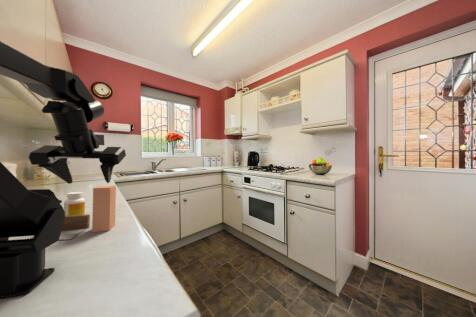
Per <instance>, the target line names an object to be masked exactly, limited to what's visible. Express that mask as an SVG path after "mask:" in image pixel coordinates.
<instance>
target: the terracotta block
mask: <svg viewBox="0 0 476 317" xmlns="http://www.w3.org/2000/svg"><path fill="white" fill-rule="evenodd" d="M116 191H117V185H104V186H103V185H99V186H96V187H93V188H92V219H91V220H92V222H91V223H92V224H91V225H92V226H91V232H92V233H99V232H101V233H102V232H110V231H112V229H113V228H115V226H116V202H117V201H116V200H117V198H116V194H117V192H116Z"/></svg>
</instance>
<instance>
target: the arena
mask: <svg viewBox="0 0 476 317" xmlns="http://www.w3.org/2000/svg"><path fill="white" fill-rule="evenodd" d="M90 218H91V216H90V214H85V215H73V216H65V219H64V222H63V226H62V230H61V234H60V238H59V240H58V241H59V242H60V241H70V240H73V239H75V237H77V236H78V235H80V234H82V233H83V232H84V231H86V230H87V229H89V228H90V227H91V226H90ZM58 241H57V242H58Z"/></svg>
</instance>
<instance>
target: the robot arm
mask: <svg viewBox="0 0 476 317" xmlns="http://www.w3.org/2000/svg"><path fill="white" fill-rule="evenodd" d="M0 76H4V77H6V78H9V79H12V80H14V81H17V82H20V83H22V84H24V85H25V86H26V87H27V88H28V90H29V91H30V92H32V93H35V94H36V95H38V96H39V97H42V98H43V99H50V100H48V101H47V103H46V104H45V105H44V106H43V107H42V109H41V112H42V114H50V115H51V118H52V121H53V124H54V126H55V130H56V132H57V134H56V135H54V139H55V141H60V143H61V145H47V144H45V145H43V146H41V147H39V148H37V149H35V150H32V151H30V152H29V154H28V157H27V158H28V161H29V162H30V164H31V165H32V166H34V165H35V166H36V165H37V166H38V167H39V168H42V169H45V170H47V171H48V172H50V173H52V174H54V175H55V176H57V177H58V178H59V179H61V180H62V181H64V182H65V183H67V184H72V183H73V176H72V174H71V171H70V168H69V166H68V159H98V161H99V163H101V164H100V165H99V168H100V170H101V173H102V175H103V178H104V180H105V182H106V183H107V184H109V183H110V181H111V179H112V175H113V170H114V167H115V166H116V165H119V164H120V163H122V161H123V159H124V158H125V157H126V156H127V154H126V150H125V149H124V147H122V146H107V147H106V148H104V150H97V149H99V148H100V146H105V134H95V133H94V130H93V129H92V128H91V129H90V128H89V124H88V123H91V122H93V121H95V120H97V119H100V118H101V117H103V115H104V114H105V108H104V106H103V105H102V103H101V102H100V101H99V100H97V99H95V98H94V95H93V94H92V93H91V92H90V90H89V89H88V87H87V86H86V85H85V83H84V81H83V80H81V78H80V77H79V75H77V73H74V72H71V71H69V70H66V69H61V68H57V67H54V66H49V65H46V64H43V63H41V62H40V61H37V60H36V59H34V58H32V57H31V56H28V54H25V53H23V52H21V51H20V50H18V49H15V48H13V46H10V45H8V44H6V43H4V42H3V41H1V40H0ZM61 203H63V201H62V200H61V199H59V198H58V197H57V196H56V195H55V192H53V190H51V189H49V188H44V189H43V188H41V189H40V188H38V189H37V188H36V189H29V188H27V187H26V186H25V184H23V183H22V182H21V181H20V180H19V179H18V178H17V177H16V176H15V175H14V174H13V173H12V172H11V171H10V170H9V168H7V167H6V166H5V165H4V164H3V163H2V162H1V161H0V299H4V298H9V297H17V296H22V295H26V294H29V293H30V292H31V291H32V290H33V289H34V288H36V287H37V286H39V285H40V283H42V282H43V281H44V280H45V279H47V277H49V276H50V275H51V274H53V273H54V272H55V267H50V268H49V267H48V268H45V267H46V248H48V247H50V246H52V245H53V244H55V243H57V242H58V240H59V238H60V234H61V230H62V226H63V222H64V219H65V212H64V206H63V204H61ZM62 231H63V230H62ZM18 237H31V238H22V239H21V238H20V239H18ZM32 237H33V238H32ZM10 238H17V239H10Z"/></svg>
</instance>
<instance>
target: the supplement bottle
mask: <svg viewBox="0 0 476 317" xmlns="http://www.w3.org/2000/svg"><path fill="white" fill-rule="evenodd" d="M66 198H67V199H66V200H64V201H63V209H64V212H65V216H73V215H86V213H85V212H86V199H85V198H84V197H83V191H75V192H74V191H72V192H68V193H66Z"/></svg>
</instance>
